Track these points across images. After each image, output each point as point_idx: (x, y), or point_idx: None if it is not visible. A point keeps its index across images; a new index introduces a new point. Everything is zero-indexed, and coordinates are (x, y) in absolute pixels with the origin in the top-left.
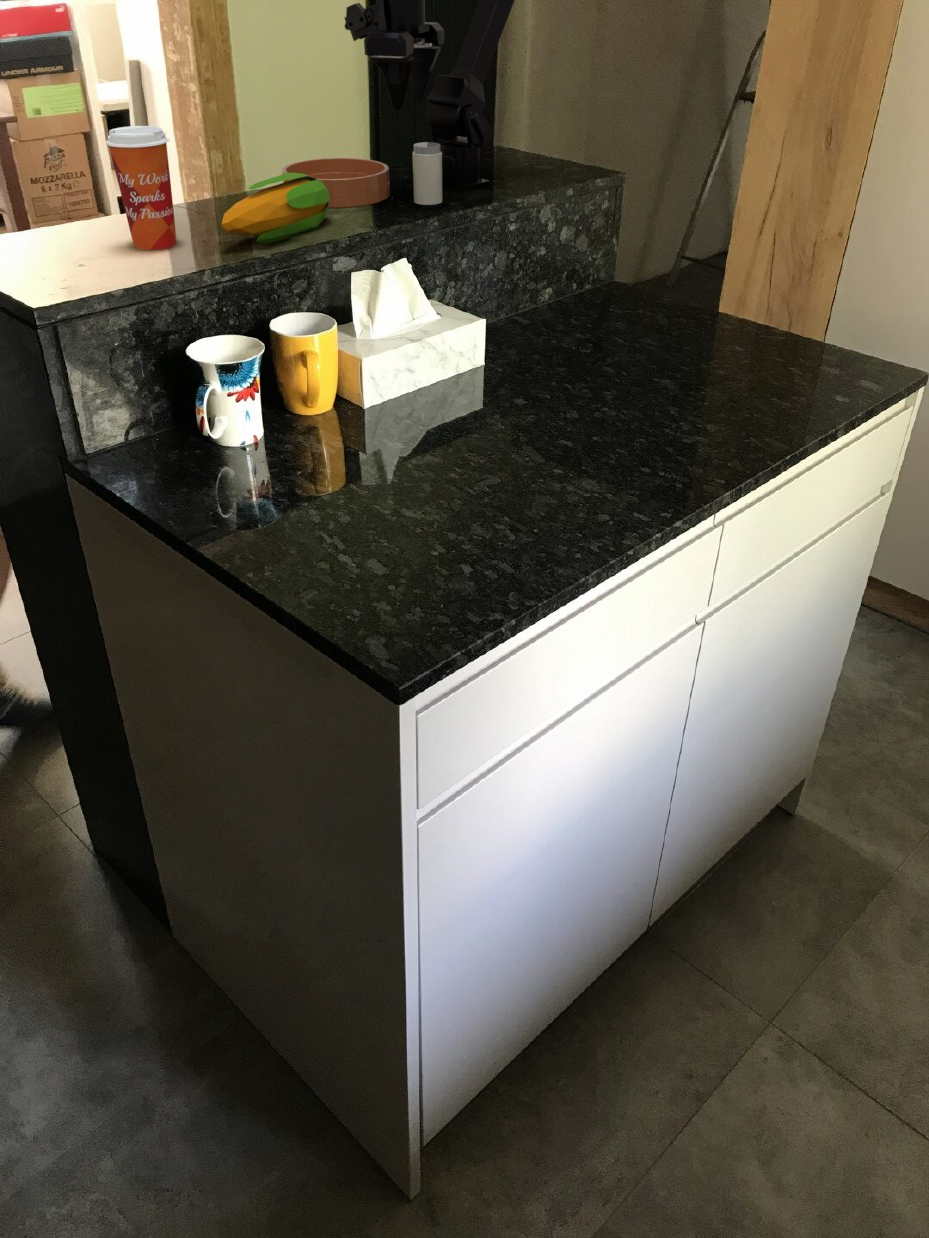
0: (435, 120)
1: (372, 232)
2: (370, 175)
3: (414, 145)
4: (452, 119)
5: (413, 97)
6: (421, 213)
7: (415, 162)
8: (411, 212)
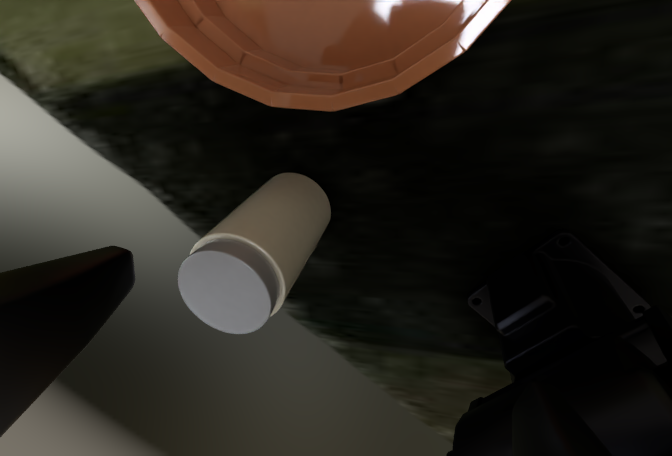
0: (566, 383)
1: (34, 92)
2: (194, 55)
3: (196, 254)
4: (464, 444)
5: (542, 394)
6: (218, 193)
7: (211, 229)
8: (221, 169)
